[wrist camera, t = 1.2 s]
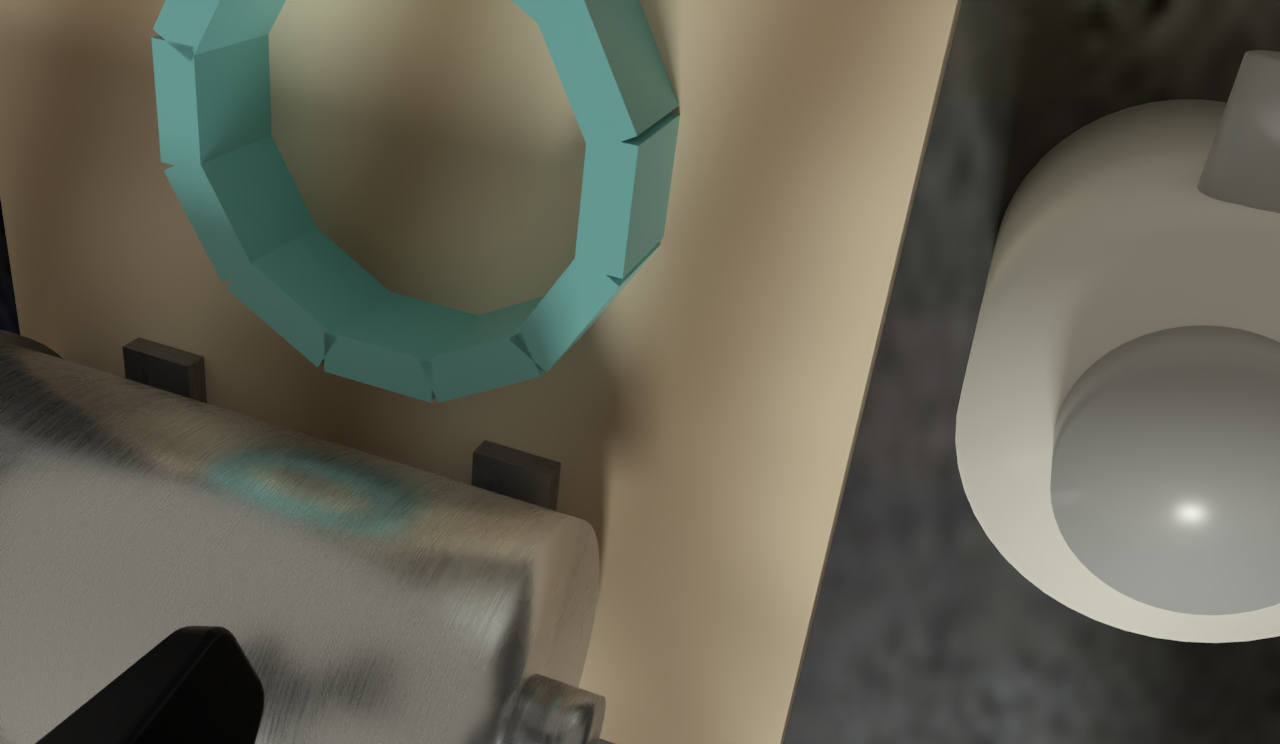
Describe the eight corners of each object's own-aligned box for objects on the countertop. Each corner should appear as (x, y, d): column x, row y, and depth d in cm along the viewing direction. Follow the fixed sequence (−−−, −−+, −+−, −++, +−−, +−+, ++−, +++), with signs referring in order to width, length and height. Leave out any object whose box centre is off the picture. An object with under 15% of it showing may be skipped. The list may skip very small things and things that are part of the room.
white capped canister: (1471, 37, 16) (1698, 184, 10) (1285, 454, 19) (1371, 758, 13) (1071, -30, 17) (1056, 63, 11) (959, 372, 20) (900, 613, 14)
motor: (689, 443, 21) (507, 730, 15) (640, 742, 25) (476, 1081, 18) (42, 258, 25) (-339, 424, 18) (80, 544, 28) (-228, 769, 22)
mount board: (981, -82, 17) (975, -75, 16) (778, 763, 25) (767, 797, 24) (-19, -244, 21) (-65, -245, 20) (81, 521, 29) (51, 543, 28)
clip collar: (709, -97, 17) (665, -85, 16) (641, 399, 21) (601, 452, 19) (219, -179, 19) (134, -176, 18) (241, 288, 23) (174, 327, 21)
